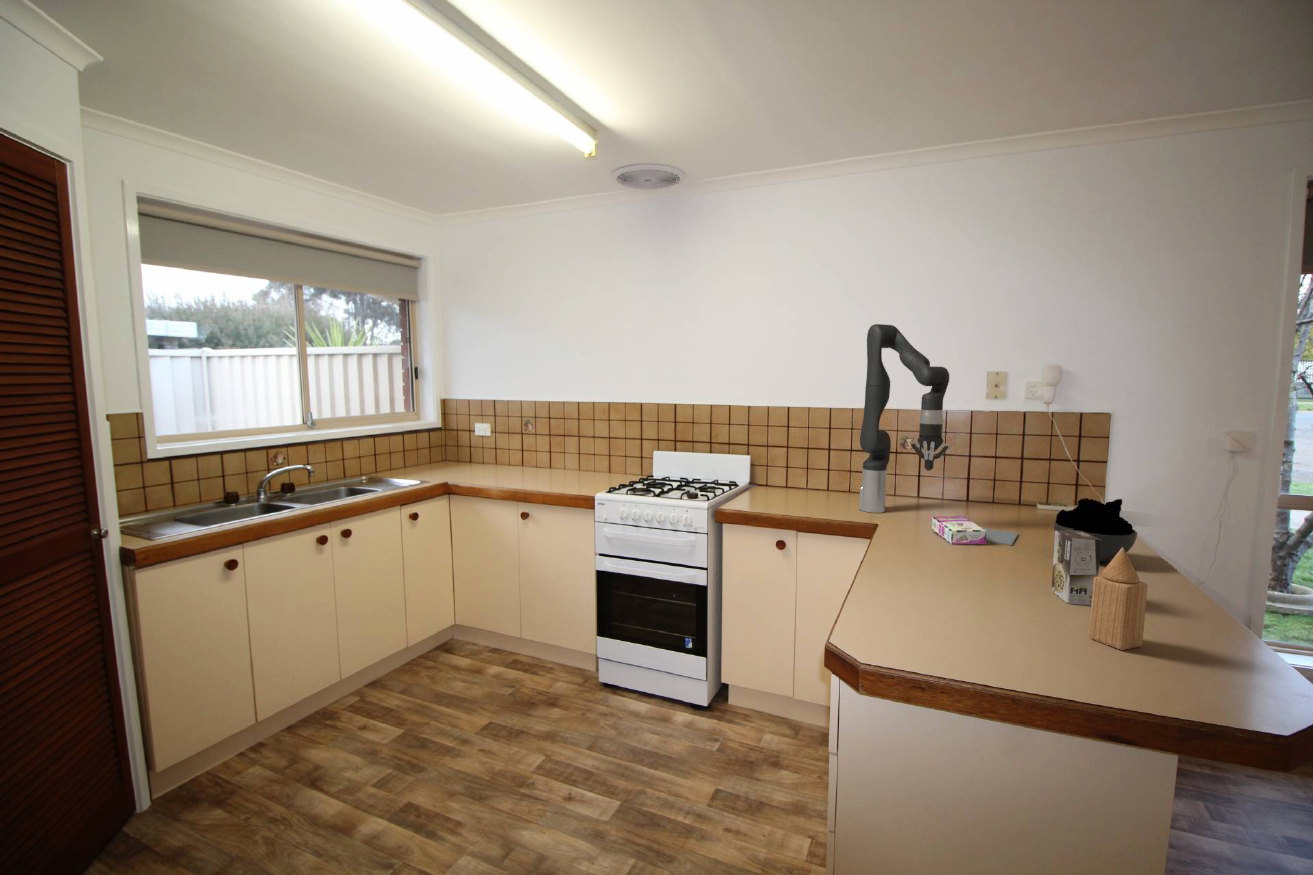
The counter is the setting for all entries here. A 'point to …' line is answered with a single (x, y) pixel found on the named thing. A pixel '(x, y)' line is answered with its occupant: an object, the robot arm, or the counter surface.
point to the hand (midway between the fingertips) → (928, 470)
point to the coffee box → (1075, 565)
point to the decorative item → (1118, 605)
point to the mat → (1000, 536)
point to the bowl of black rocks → (1099, 525)
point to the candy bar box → (958, 530)
